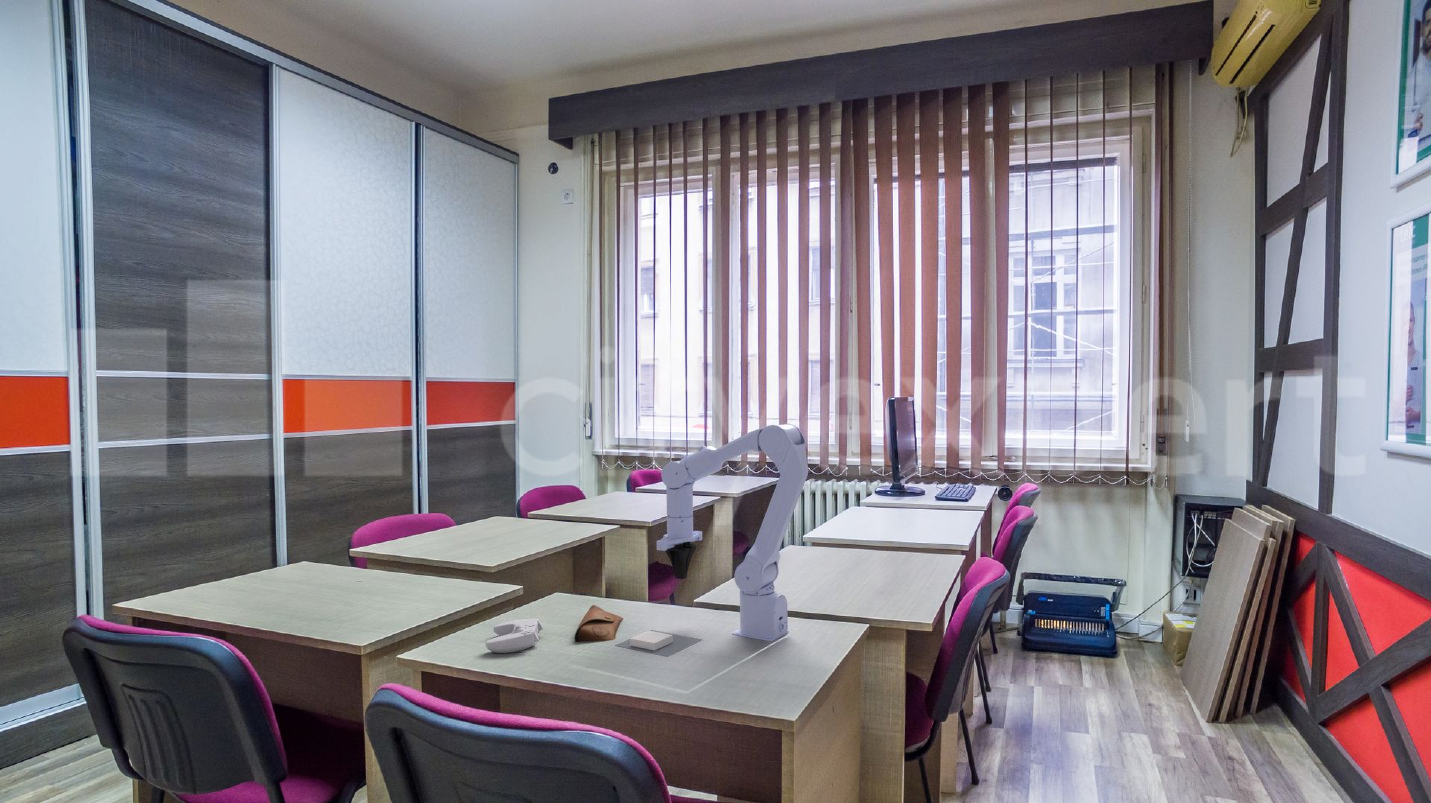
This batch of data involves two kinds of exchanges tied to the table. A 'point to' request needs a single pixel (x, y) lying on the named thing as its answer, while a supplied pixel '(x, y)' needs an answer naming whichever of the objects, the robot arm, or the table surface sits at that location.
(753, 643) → the table surface
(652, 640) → the tile
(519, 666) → the table surface
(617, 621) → the sunglasses case
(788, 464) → the robot arm
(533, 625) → the game controller
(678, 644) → the mat
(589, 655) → the table surface
